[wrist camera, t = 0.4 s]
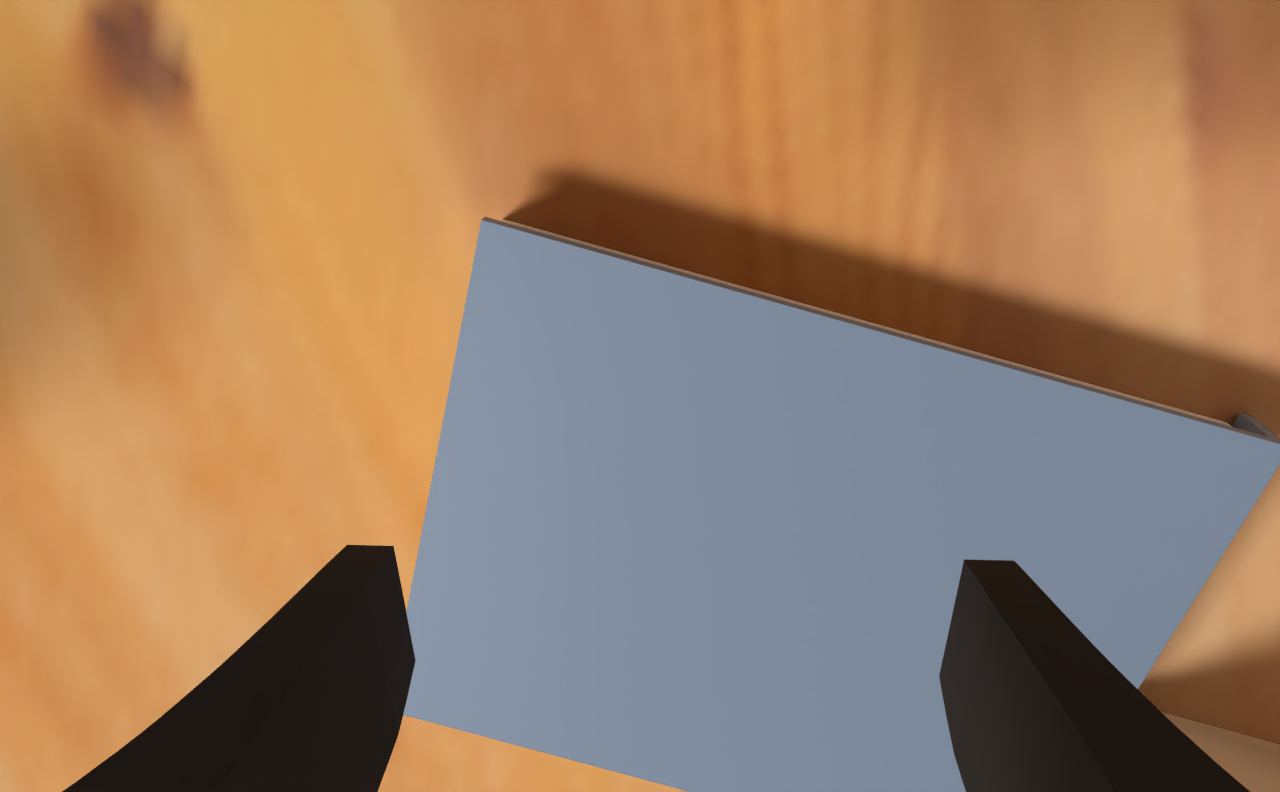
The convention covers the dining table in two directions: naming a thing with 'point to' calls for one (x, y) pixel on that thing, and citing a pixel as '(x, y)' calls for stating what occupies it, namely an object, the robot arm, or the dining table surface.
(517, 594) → the book
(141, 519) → the dining table surface
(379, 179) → the dining table surface
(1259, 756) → the tea box
